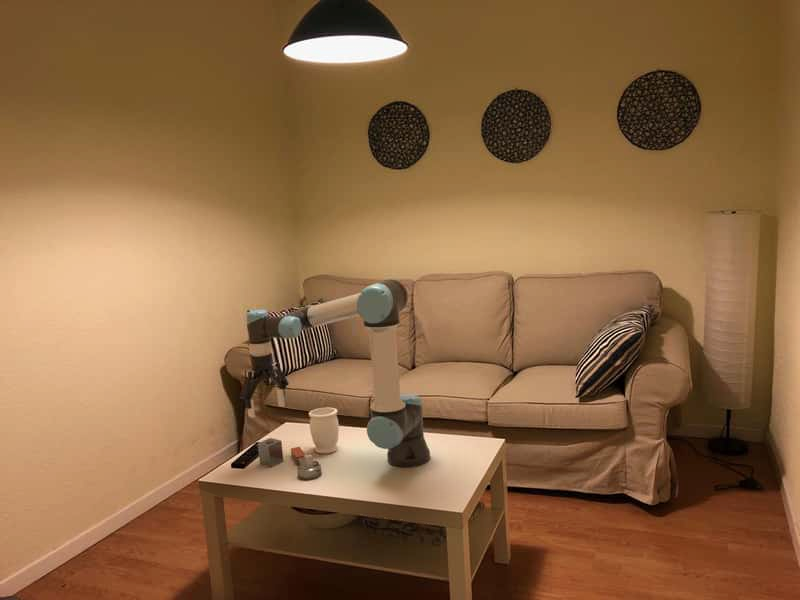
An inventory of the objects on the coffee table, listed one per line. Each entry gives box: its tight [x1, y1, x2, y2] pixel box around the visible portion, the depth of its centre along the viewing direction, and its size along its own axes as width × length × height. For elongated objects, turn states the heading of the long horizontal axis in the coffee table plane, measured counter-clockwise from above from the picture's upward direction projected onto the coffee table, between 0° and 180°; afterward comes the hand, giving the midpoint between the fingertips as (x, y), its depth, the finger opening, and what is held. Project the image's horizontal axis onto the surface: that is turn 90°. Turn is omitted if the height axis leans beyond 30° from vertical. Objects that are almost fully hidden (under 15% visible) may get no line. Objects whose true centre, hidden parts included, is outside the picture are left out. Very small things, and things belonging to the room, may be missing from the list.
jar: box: [308, 407, 340, 455], centre depth 257 cm, size 11×10×15 cm
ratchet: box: [290, 446, 323, 482], centre depth 243 cm, size 26×8×7 cm, turn 21°
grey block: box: [257, 437, 284, 468], centre depth 248 cm, size 6×6×8 cm
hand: (267, 411), depth 247 cm, fingers open, 13 cm apart
